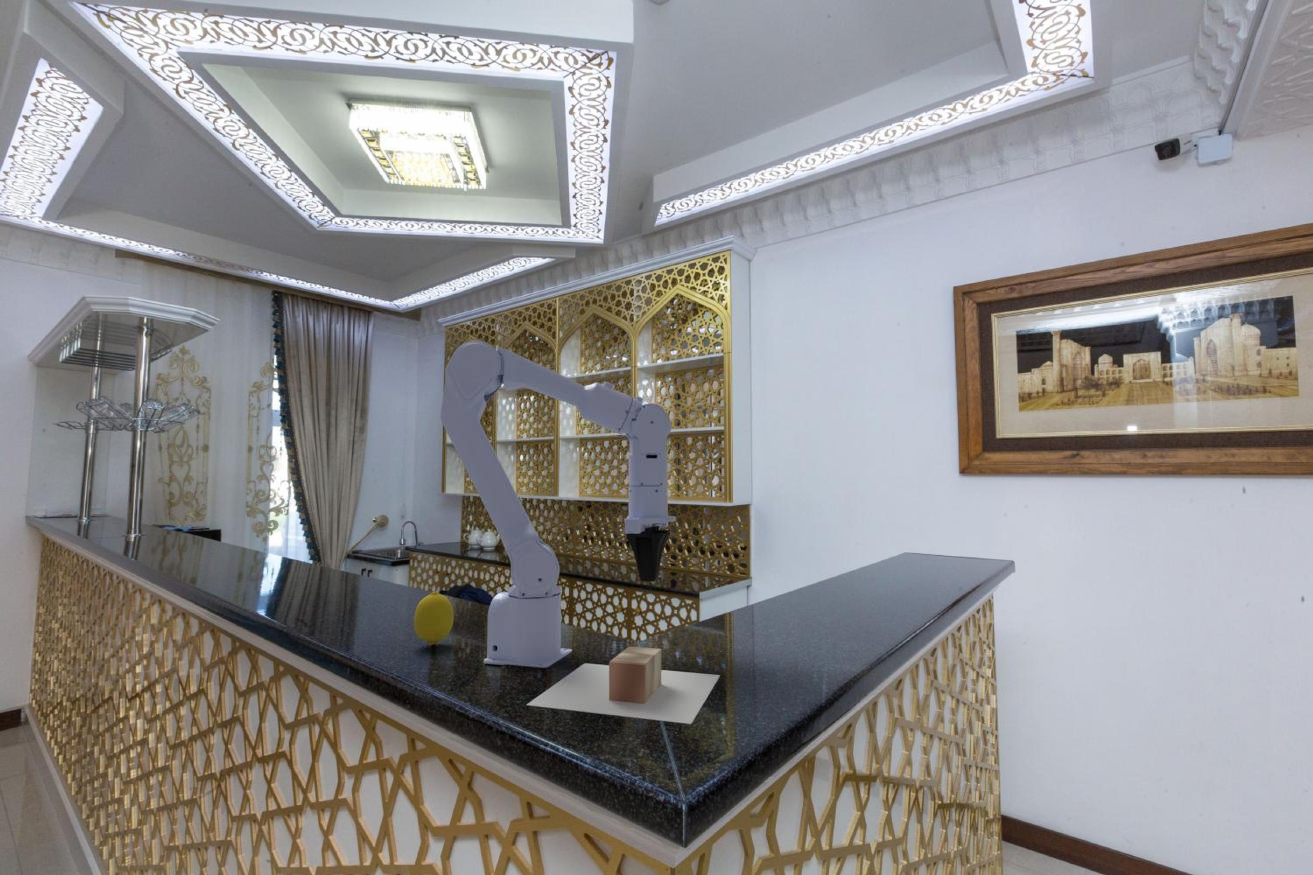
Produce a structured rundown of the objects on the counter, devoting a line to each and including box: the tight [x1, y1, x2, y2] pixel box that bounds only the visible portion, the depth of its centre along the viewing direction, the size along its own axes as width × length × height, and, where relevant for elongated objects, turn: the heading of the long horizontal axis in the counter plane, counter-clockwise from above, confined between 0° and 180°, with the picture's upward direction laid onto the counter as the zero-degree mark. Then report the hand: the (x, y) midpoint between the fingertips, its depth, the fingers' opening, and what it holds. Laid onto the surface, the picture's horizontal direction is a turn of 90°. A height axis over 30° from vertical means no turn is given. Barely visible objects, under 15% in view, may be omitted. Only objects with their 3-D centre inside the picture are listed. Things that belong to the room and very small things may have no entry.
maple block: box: [608, 646, 662, 704], centre depth 64 cm, size 4×4×6 cm
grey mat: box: [526, 662, 721, 725], centre depth 65 cm, size 18×15×1 cm
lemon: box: [413, 591, 454, 645], centre depth 86 cm, size 6×6×8 cm
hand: (648, 580), depth 83 cm, fingers closed
